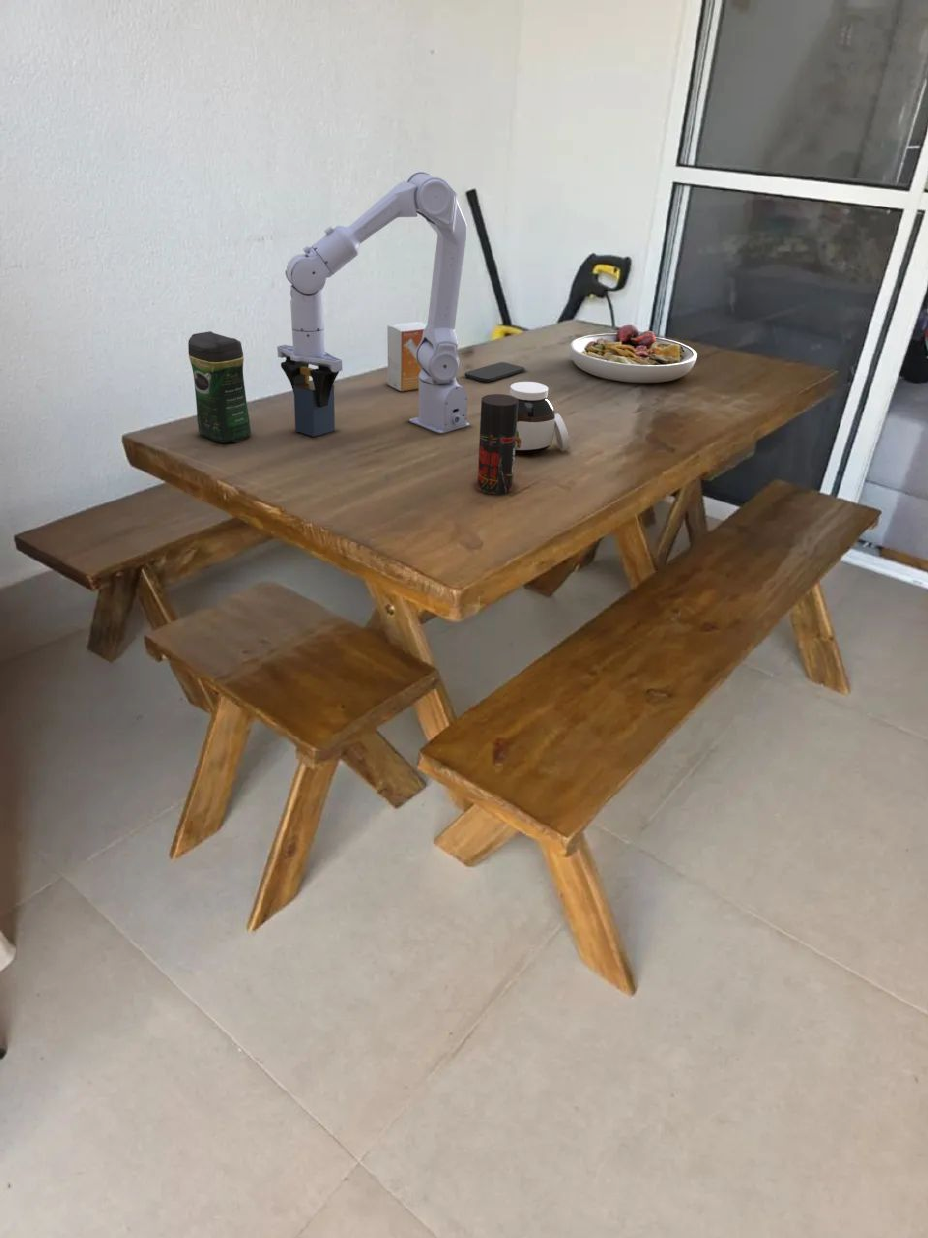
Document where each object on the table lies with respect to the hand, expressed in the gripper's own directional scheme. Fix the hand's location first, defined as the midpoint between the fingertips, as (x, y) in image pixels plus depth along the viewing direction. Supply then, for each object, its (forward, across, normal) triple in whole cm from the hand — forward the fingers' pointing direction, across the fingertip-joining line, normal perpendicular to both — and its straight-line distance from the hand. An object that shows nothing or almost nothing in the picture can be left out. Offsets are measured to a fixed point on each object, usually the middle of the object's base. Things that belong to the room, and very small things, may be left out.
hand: (311, 402), depth 159 cm
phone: (+5, +4, +56) cm, 57 cm away
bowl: (+5, +25, +83) cm, 87 cm away
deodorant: (+6, +41, +1) cm, 42 cm away
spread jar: (+6, +37, +21) cm, 43 cm away
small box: (+6, -5, +36) cm, 37 cm away
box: (0, 0, +4) cm, 4 cm away
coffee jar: (+6, -11, -12) cm, 17 cm away
